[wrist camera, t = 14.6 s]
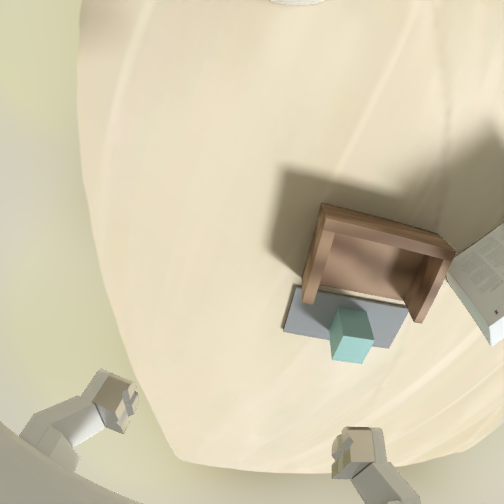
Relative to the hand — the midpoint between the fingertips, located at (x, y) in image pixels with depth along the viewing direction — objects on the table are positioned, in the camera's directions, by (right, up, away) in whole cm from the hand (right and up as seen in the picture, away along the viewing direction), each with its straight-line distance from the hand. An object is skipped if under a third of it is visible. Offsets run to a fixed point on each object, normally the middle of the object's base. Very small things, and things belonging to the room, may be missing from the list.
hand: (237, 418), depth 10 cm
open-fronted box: (+18, +6, +31) cm, 37 cm away
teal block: (+16, -5, +36) cm, 40 cm away
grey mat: (+16, -5, +37) cm, 40 cm away
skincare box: (+41, +7, +27) cm, 50 cm away
